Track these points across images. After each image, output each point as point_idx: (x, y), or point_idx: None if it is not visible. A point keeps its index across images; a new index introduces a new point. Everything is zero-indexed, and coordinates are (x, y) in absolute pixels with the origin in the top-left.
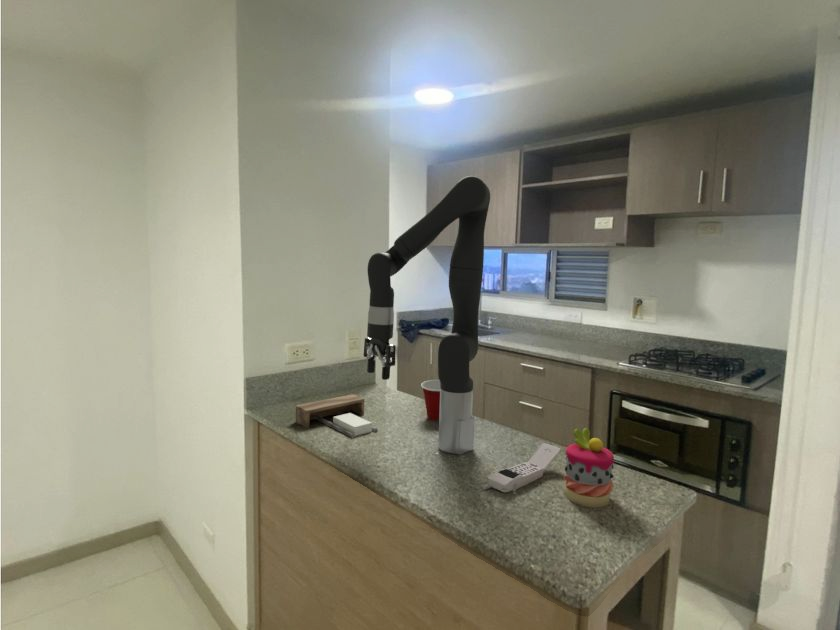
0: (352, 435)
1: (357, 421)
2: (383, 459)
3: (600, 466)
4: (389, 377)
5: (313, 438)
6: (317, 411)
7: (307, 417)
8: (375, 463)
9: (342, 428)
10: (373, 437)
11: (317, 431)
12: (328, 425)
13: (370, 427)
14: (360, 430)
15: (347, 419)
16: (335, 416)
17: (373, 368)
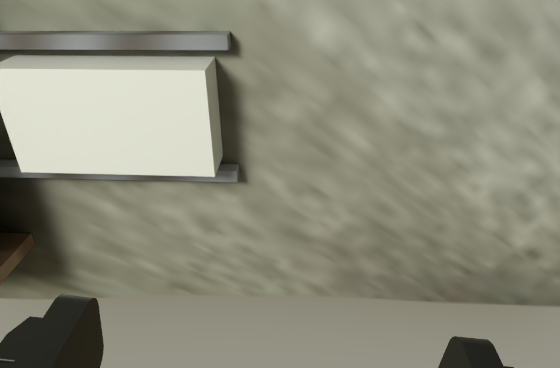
0: (236, 180)
1: (144, 119)
2: (506, 209)
3: None
4: (494, 348)
5: (158, 275)
6: None
7: (8, 270)
8: (505, 247)
9: None
10: (289, 99)
11: (93, 233)
12: None
13: (210, 72)
14: (216, 133)
15: (90, 141)
16: (20, 161)
17: (72, 351)
